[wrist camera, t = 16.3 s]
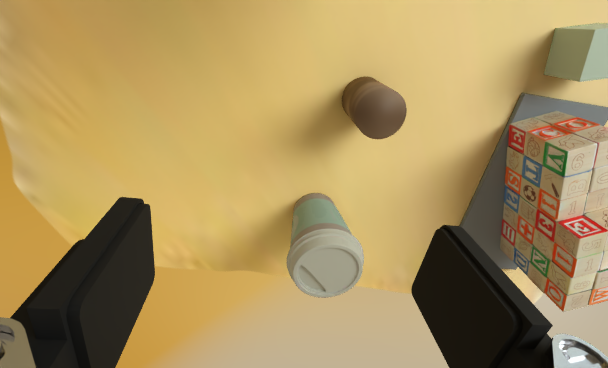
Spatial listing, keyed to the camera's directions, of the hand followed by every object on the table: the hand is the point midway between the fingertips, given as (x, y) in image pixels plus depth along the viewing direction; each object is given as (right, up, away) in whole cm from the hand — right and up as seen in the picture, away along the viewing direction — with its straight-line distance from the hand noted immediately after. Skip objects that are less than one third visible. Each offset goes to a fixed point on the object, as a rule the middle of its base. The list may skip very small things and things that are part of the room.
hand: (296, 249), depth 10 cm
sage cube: (+31, +18, +26) cm, 44 cm away
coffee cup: (+2, -1, +33) cm, 33 cm away
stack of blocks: (+31, +2, +34) cm, 46 cm away
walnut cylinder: (+7, +12, +27) cm, 30 cm away
